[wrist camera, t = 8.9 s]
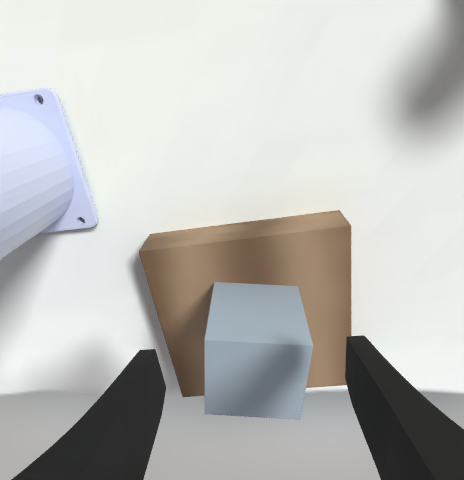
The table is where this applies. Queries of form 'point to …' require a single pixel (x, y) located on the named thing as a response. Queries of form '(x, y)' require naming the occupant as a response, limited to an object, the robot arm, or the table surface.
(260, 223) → the walnut block
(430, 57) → the table surface
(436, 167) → the table surface
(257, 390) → the slate cube
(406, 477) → the robot arm
